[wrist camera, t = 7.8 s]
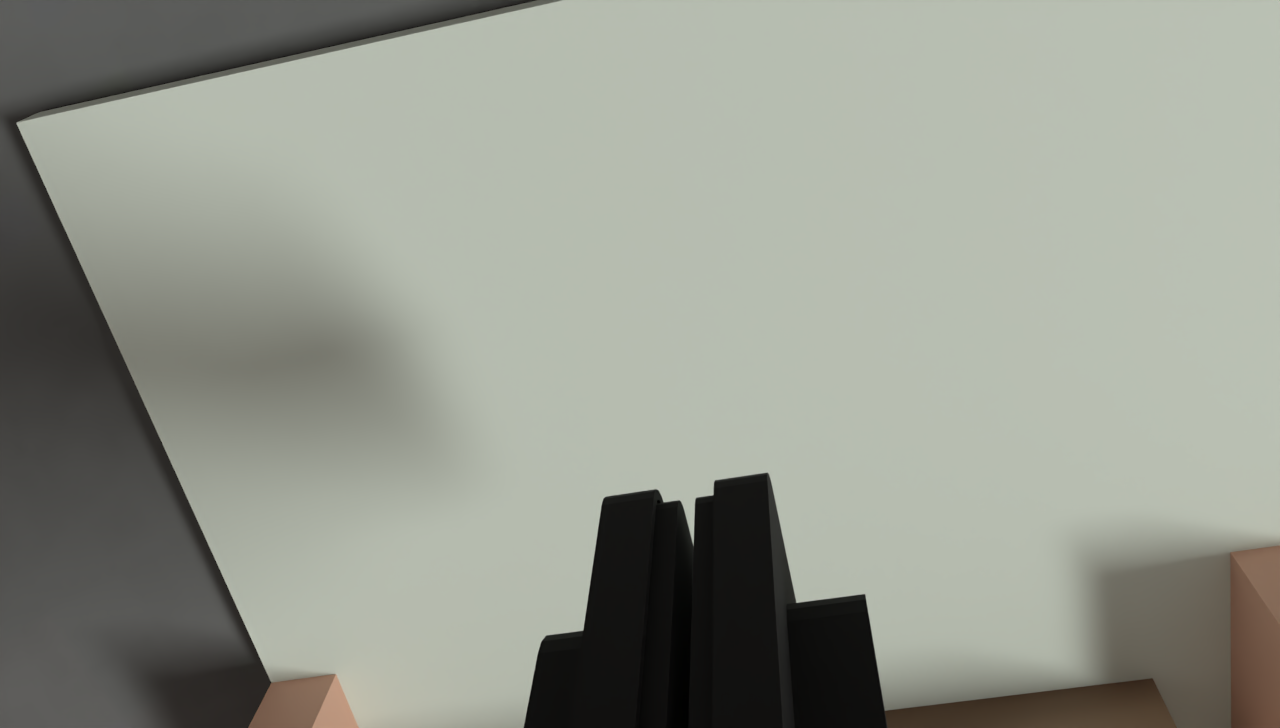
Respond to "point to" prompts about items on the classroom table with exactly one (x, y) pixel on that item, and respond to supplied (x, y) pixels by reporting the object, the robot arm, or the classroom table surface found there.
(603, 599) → the robot arm
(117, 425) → the classroom table surface
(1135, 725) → the t block
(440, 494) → the mat
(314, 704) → the pocket
